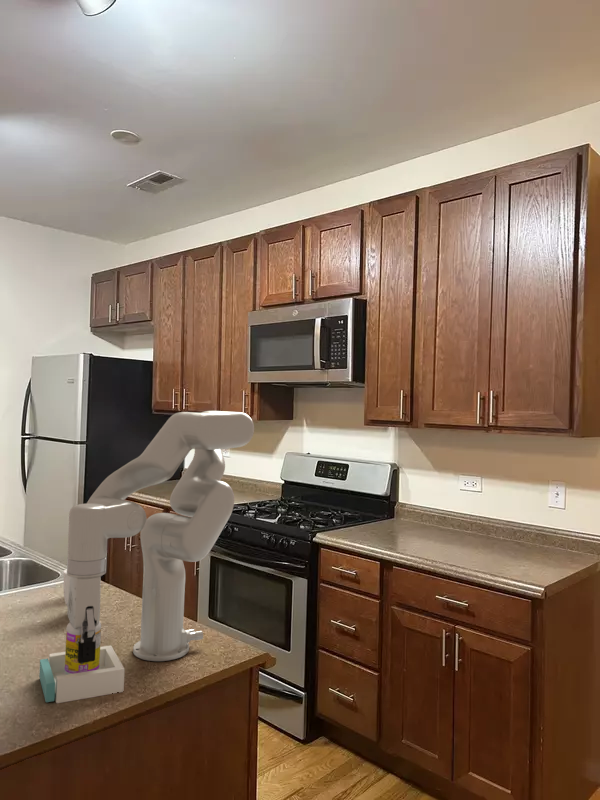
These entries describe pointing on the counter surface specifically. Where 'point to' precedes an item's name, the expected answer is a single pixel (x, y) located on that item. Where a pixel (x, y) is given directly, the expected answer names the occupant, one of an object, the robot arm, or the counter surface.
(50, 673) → the gate
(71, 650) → the supplement bottle
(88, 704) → the counter surface
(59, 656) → the housing
